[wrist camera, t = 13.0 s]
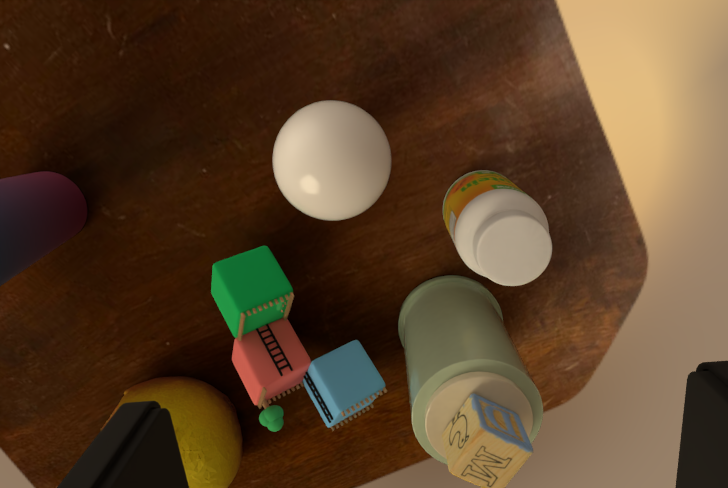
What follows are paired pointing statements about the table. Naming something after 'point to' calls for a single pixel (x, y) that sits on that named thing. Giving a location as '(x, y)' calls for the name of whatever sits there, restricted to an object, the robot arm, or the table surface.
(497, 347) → the upturned tumbler
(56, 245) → the cup
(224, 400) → the fruit
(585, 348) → the table surface
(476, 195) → the supplement bottle
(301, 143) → the lightbulb
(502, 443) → the alphabet block
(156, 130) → the table surface
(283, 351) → the building blocks
